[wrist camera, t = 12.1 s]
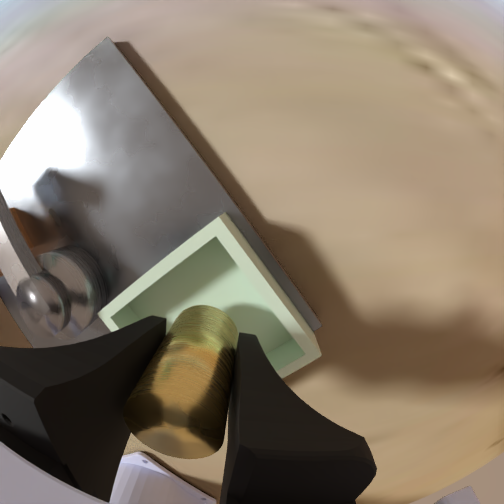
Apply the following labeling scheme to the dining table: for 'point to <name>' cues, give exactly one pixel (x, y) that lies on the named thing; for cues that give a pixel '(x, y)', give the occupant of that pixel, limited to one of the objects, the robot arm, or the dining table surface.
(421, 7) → the dining table surface
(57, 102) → the base plate
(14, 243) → the crank
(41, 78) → the dining table surface
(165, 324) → the robot arm
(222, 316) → the brass pin
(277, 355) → the tray
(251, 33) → the dining table surface
